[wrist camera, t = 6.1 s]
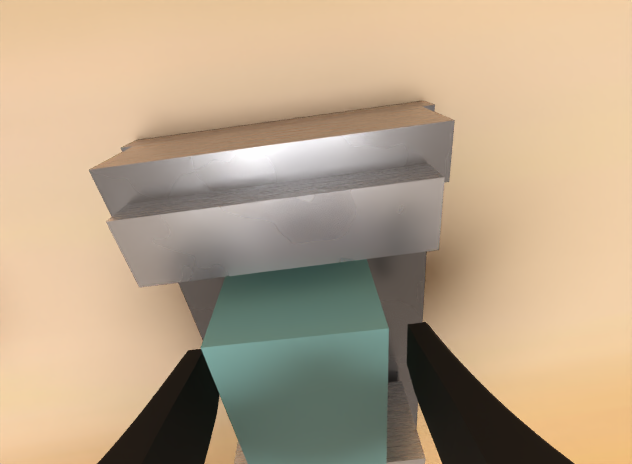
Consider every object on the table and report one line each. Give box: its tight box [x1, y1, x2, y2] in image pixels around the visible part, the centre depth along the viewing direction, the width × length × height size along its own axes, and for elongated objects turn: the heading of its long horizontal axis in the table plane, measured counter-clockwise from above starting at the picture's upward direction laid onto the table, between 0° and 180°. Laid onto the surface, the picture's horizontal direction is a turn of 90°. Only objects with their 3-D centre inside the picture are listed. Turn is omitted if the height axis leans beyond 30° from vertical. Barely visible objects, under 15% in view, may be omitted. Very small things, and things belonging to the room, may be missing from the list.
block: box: [201, 259, 389, 464], centre depth 11 cm, size 7×4×5 cm, turn 6°
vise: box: [89, 101, 454, 427], centre depth 13 cm, size 18×10×4 cm, turn 7°
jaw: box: [234, 381, 425, 464], centre depth 15 cm, size 2×8×4 cm, turn 97°
